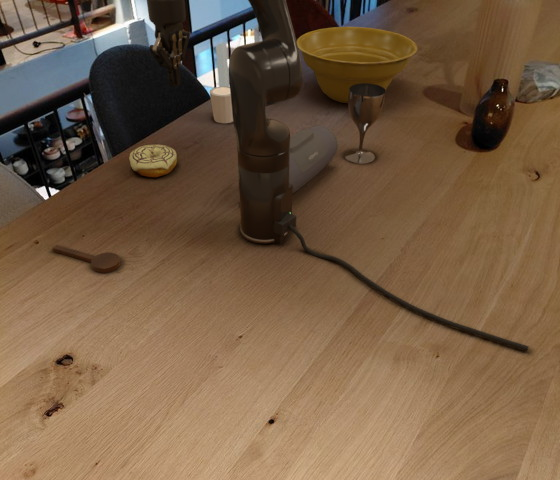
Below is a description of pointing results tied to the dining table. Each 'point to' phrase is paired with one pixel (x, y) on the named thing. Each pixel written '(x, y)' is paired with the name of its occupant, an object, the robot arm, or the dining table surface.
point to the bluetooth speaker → (310, 154)
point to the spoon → (93, 259)
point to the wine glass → (364, 115)
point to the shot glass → (221, 104)
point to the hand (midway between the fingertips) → (175, 85)
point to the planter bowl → (354, 57)
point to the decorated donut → (153, 160)
